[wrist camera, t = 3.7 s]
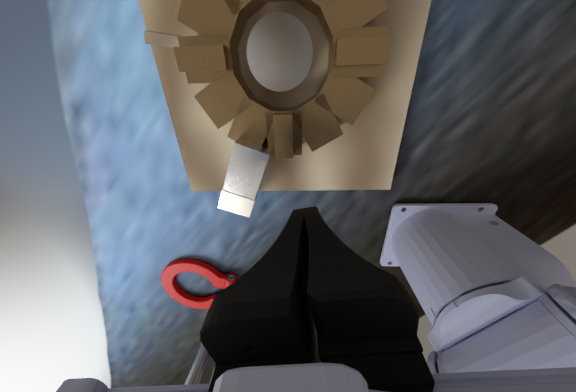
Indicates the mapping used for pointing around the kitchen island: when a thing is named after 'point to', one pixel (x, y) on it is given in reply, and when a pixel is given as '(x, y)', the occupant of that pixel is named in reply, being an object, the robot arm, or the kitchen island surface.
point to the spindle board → (293, 95)
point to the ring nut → (259, 115)
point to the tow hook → (195, 299)
